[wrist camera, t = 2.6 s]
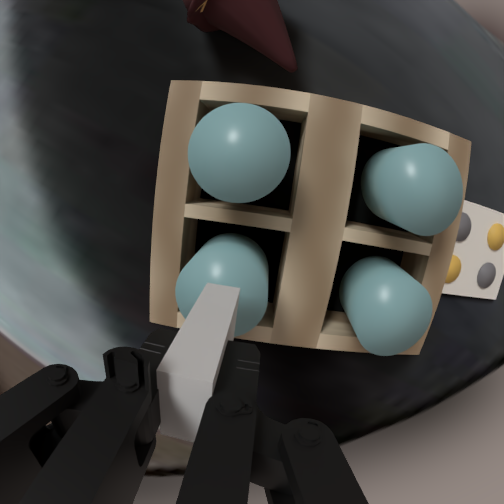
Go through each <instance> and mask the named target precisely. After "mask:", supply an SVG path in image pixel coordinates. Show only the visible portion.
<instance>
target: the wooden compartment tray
mask: <svg viewBox="0 0 504 504" xmlns="http://www.w3.org/2000/svg"><path fill="white" fill-rule="evenodd" d="M231 103H249V104H253V105H257V106H259V107H262V108H264V109H266V110H267V111H269V112H270V113H271V114H273V115H274V116H275V117H276V118H277V119H280V120H287V121H293V122H299V123H301V129H300V137H299V144H298V151H297V158H296V164H295V171H294V178H293V185H292V191H291V198H290V204H289V210H282V209H275V208H269V207H262V206H255V205H248V204H241V203H230V202H225V201H219V200H211V199H203V198H200V196H201V187H200V185H199V184H198V183H197V181H196V180H195V178H194V177H193V175H192V173H191V170H190V167H189V162H188V145H189V140H190V137H191V135H192V133H193V130H194V129H195V127H196V126H197V124H198V123H199V122H200V120H201V119H202V118H203V117H204V116H205V115H207V114H208V113H209V112H211V111H212V110H214V109H216V108H218V107H220V106H223V105H226V104H231ZM359 135H362V136H366V137H370V138H374V139H378V140H382V141H386V142H389V143H393V144H397V145H400V146H407V145H413V144H420V143H427V144H432V145H435V146H438V147H440V148H441V149H443V150H444V151H446V152H447V153H448V154H449V155H450V156H451V157H452V159H453V160H454V162H455V163H456V165H457V167H458V169H459V171H460V175H461V178H462V183H463V198H462V204H461V207H460V210H459V212H458V215H457V217H456V218H455V220H454V221H453V222H452V224H451V225H450V226H449V227H448V228H446V229H445V230H444V231H442V232H440V233H438V234H435V235H431V236H421V235H417V234H414V233H412V232H410V231H408V232H404V231H399V230H394V229H389V228H384V227H379V226H374V225H369V224H364V223H358V222H353V221H347V220H346V218H347V212H348V207H349V201H350V195H351V189H352V183H353V177H354V170H355V164H356V157H357V149H358V142H359ZM470 150H471V141H468V140H466V139H464V138H461V137H459V136H456V135H454V134H451V133H449V132H446V131H444V130H441V129H438V128H436V127H433V126H430V125H427V124H425V123H422V122H419V121H416V120H413V119H410V118H407V117H404V116H401V115H397V114H394V113H391V112H387V111H384V110H380V109H377V108H373V107H369V106H365V105H362V104H358V103H354V102H349V101H345V100H341V99H336V98H332V97H327V96H322V95H317V94H311V93H306V92H300V91H294V90H288V89H281V88H274V87H266V86H258V85H248V84H238V83H226V82H210V81H180V80H171V84H170V89H169V95H168V101H167V107H166V113H165V119H164V125H163V132H162V139H161V147H160V154H159V163H158V171H157V181H156V191H155V202H154V214H153V228H152V246H151V270H150V322H153V323H157V324H162V325H167V326H172V327H177V328H181V326H182V325H183V323H184V321H185V318H184V317H183V315H182V314H181V312H180V310H179V308H178V305H177V302H176V296H175V288H176V282H177V279H178V276H179V274H180V272H181V271H182V269H183V268H184V267H185V266H186V264H187V263H188V262H189V261H190V260H191V259H192V258H193V257H194V255H195V244H196V233H197V223H198V219H203V220H210V221H218V222H225V223H232V224H239V225H246V226H252V227H259V228H266V229H273V230H279V231H285V235H284V241H283V247H282V253H281V259H280V265H279V271H278V276H277V282H276V288H275V293H274V299H273V303H269V302H267V308H266V311H265V314H264V316H263V317H262V319H261V321H260V322H259V323H258V324H257V325H256V326H255V327H254V328H253V329H252V330H250V331H249V332H247V333H245V334H243V335H240V336H236V337H234V338H238V339H245V340H252V341H258V342H266V343H273V344H281V345H289V346H298V347H307V348H316V349H327V350H338V351H350V352H365V353H370V352H369V351H367V350H366V349H365V348H364V347H363V346H362V345H361V343H360V341H359V340H358V338H357V335H356V333H355V331H354V329H353V327H352V325H351V323H350V321H349V319H348V317H347V315H346V313H345V312H338V311H330V310H326V309H327V305H328V301H329V297H330V293H331V289H332V285H333V280H334V276H335V272H336V267H337V262H338V258H339V253H340V248H341V244H342V241H348V242H354V243H360V244H366V245H371V246H377V247H383V248H389V249H394V250H400V251H404V253H403V257H402V261H401V265H400V268H402V269H403V270H404V271H405V272H407V273H408V274H409V275H410V276H412V277H413V278H414V279H415V280H416V281H418V282H419V283H420V284H421V285H422V286H424V287H425V288H426V290H427V291H428V293H429V294H430V297H431V300H432V308H433V309H432V317H431V321H430V324H429V326H428V328H427V330H426V332H425V333H424V335H423V336H422V337H421V338H420V339H419V341H418V342H416V343H415V344H414V345H413V346H412V347H410V348H409V349H407V350H405V351H403V352H401V353H398V354H407V355H419V353H420V350H421V348H422V346H423V343H424V341H425V338H426V336H427V333H428V330H429V328H430V325H431V322H432V320H433V317H434V314H435V311H436V308H437V305H438V302H439V299H440V296H441V293H442V290H443V287H444V284H445V280H446V277H447V273H448V270H449V266H450V262H451V259H452V255H453V251H454V247H455V243H456V238H457V234H458V229H459V225H460V220H461V215H462V209H463V204H464V198H465V191H466V185H467V177H468V170H469V161H470Z"/></svg>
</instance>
